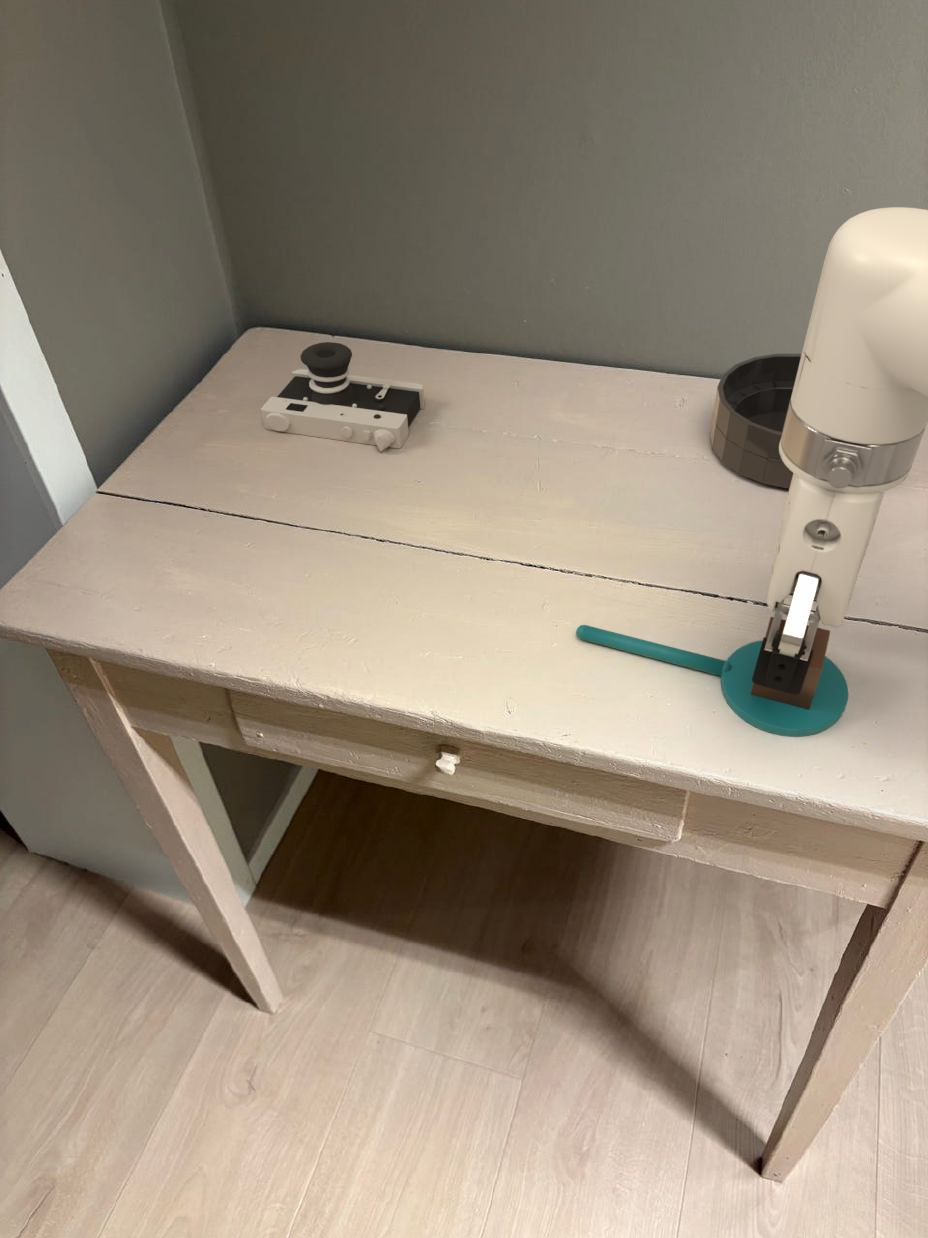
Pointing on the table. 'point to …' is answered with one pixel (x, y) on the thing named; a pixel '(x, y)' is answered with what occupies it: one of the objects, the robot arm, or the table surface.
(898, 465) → the robot arm
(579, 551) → the table surface
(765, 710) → the teal lollipop paddle
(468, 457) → the table surface
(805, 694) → the block
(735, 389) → the shallow round bowl
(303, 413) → the camera
